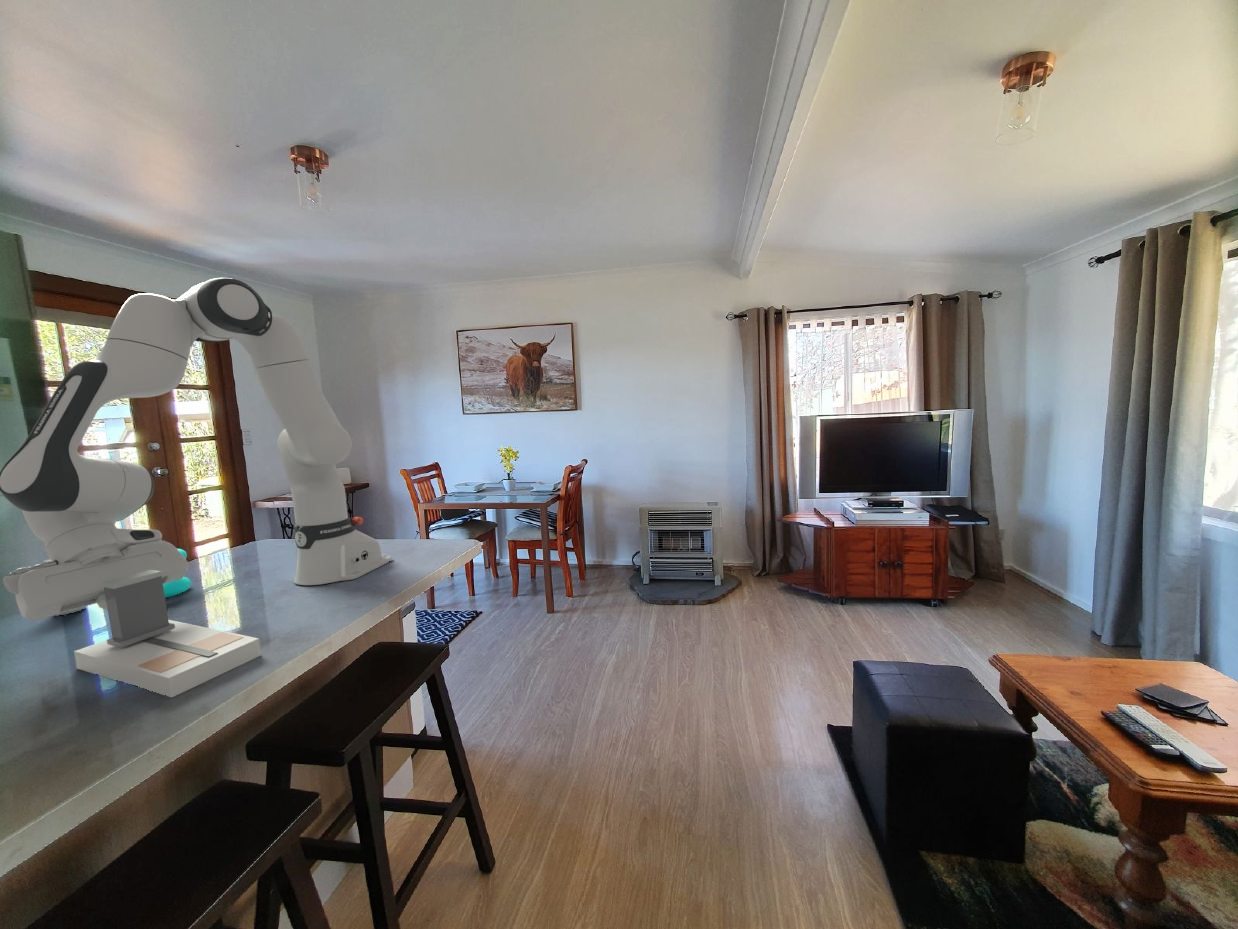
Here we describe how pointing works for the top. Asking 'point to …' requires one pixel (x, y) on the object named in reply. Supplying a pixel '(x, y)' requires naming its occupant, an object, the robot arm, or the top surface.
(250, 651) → the fader console
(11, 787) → the top surface
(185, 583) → the donuts
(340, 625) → the top surface
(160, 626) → the fader knob
